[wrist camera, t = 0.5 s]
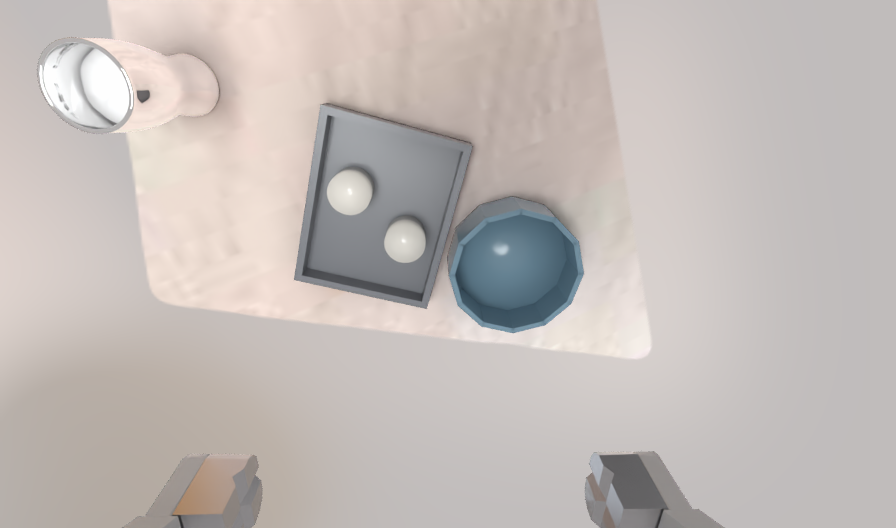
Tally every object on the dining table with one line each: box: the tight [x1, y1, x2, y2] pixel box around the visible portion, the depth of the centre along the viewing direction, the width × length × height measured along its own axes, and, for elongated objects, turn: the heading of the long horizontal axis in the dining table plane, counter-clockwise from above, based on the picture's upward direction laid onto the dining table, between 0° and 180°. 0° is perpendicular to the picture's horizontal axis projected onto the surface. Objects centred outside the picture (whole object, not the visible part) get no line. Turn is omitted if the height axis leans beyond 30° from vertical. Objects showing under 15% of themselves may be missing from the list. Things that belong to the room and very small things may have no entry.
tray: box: [294, 103, 473, 309], centre depth 50 cm, size 20×16×3 cm
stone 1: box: [327, 167, 374, 215], centre depth 48 cm, size 5×5×3 cm
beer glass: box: [37, 37, 219, 134], centre depth 39 cm, size 7×7×15 cm
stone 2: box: [384, 215, 426, 263], centre depth 50 cm, size 5×5×3 cm
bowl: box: [447, 196, 584, 333], centre depth 52 cm, size 15×15×6 cm
